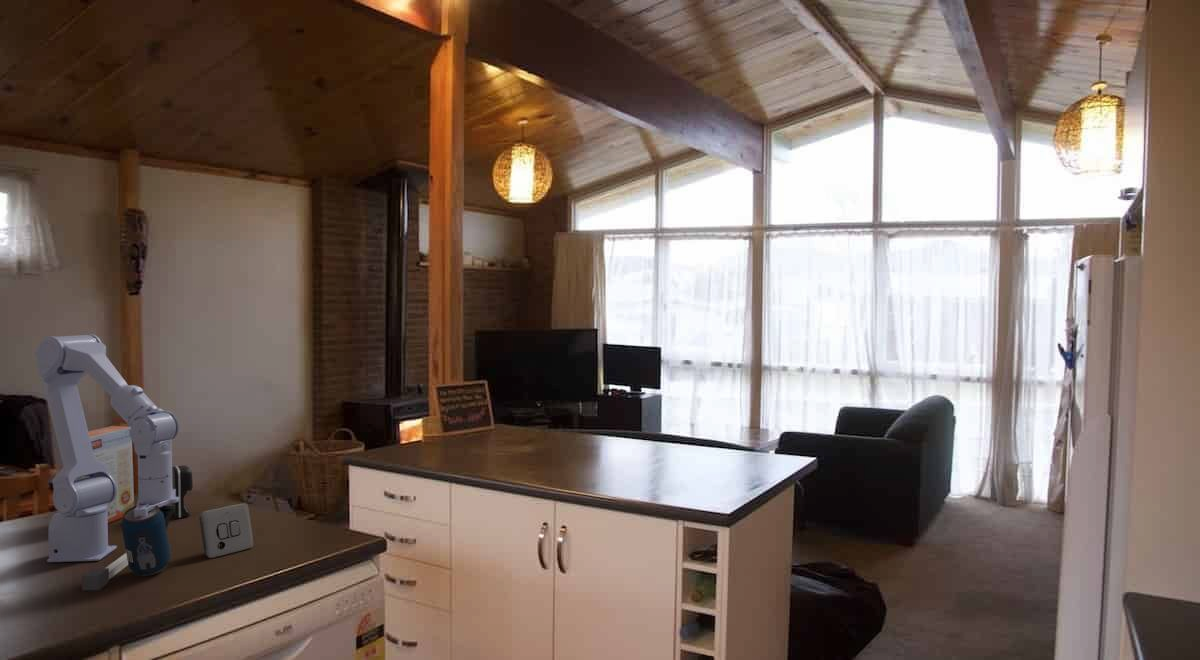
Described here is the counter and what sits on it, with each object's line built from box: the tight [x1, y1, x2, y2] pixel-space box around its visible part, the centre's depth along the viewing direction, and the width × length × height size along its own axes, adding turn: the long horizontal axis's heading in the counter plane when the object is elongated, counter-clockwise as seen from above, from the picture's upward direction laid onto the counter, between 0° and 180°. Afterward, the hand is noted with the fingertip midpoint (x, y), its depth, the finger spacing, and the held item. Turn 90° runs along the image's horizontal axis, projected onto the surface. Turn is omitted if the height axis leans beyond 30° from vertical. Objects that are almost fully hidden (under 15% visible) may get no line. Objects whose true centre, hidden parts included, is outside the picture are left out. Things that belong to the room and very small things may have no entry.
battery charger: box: [171, 465, 194, 519], centre depth 187 cm, size 7×4×11 cm, turn 35°
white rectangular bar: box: [81, 552, 129, 591], centre depth 152 cm, size 3×23×3 cm, turn 8°
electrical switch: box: [198, 503, 254, 559], centre depth 162 cm, size 9×5×9 cm, turn 141°
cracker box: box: [74, 425, 135, 524], centre depth 180 cm, size 14×6×21 cm, turn 172°
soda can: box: [120, 504, 171, 577], centre depth 148 cm, size 7×7×12 cm
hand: (156, 545), depth 152 cm, fingers closed, pressing on soda can
